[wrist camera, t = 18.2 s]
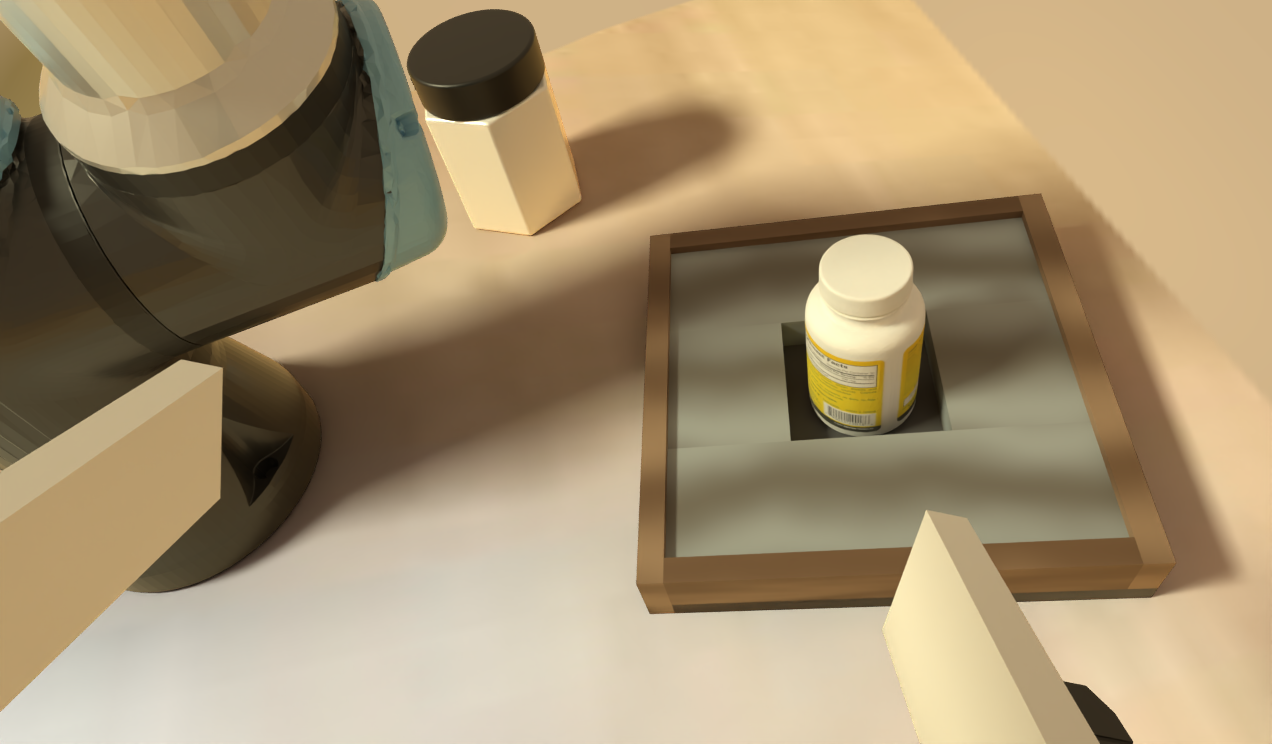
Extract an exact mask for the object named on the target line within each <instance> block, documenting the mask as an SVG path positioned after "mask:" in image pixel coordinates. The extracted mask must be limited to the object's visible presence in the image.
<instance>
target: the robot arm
mask: <svg viewBox="0 0 1272 744" xmlns="http://www.w3.org/2000/svg"><path fill="white" fill-rule="evenodd" d="M0 20H1V21H2V22H3V23H4V25H5V26H6V27H8V29H9V30H10V31H11V32H12V33H13V34H14V35H15V36H16V37H17V38H18V39H19V40H20V41H21V42H22V43H23V44H24V45H25V46H26V47H27V48H28V49H29V50H30V51H31V53H32V54H33V55H34V56H35V57H36V58H37V59H38V60H39V61H40V62H41V63H42V64H43V68H42V72H41V77H40V85H39V103H40V108H41V112H42V114H40V115H37V116H34V117H30V118H22V117H21V115H20V114H19V109H18V108H17V107H16V105H15V104H14V102H12V101H11V100H10V99H7V98H4V97H2V96H0V470H2V471H1V472H0V712H1V711H2V710H3V709H4V708H5V707H6V706H7V705H8V704H9V703H10V702H11V701H12V700H13V699H14V698H15V697H16V696H17V695H18V694H19V693H20V692H21V691H22V690H23V689H24V688H25V687H26V686H27V685H28V684H29V683H31V682H32V681H33V680H34V679H35V678H36V677H37V676H38V675H39V674H40V673H41V672H42V671H43V670H44V669H45V668H46V667H47V666H48V665H49V664H50V663H51V662H52V661H53V660H54V659H55V658H56V657H57V656H58V655H59V654H60V653H61V652H62V651H63V650H64V649H66V648H67V647H68V646H69V645H70V644H71V643H72V642H73V641H74V640H75V639H76V638H77V637H78V636H79V635H80V634H81V633H82V632H83V631H84V630H85V629H86V628H87V627H88V626H89V625H90V624H91V623H92V622H93V621H94V620H95V619H96V618H97V617H98V616H100V615H101V614H102V613H103V612H104V611H105V610H106V609H107V608H108V607H109V606H110V605H111V604H112V603H113V602H114V601H115V600H116V599H117V598H118V597H119V596H120V595H121V594H122V593H123V592H124V591H125V590H127V591H133V592H163V591H169V590H174V589H178V588H182V587H186V586H189V585H192V584H195V583H198V582H200V581H203V580H205V579H207V578H210V577H212V576H214V575H216V574H218V573H220V572H222V571H224V570H225V569H227V568H229V567H231V566H232V565H234V564H235V563H237V562H238V561H240V560H241V559H243V558H244V557H245V556H247V555H248V554H250V553H251V552H252V551H253V550H255V549H256V548H257V547H258V546H259V545H261V544H262V543H263V542H264V541H265V540H266V539H267V538H268V537H269V536H270V535H271V534H272V533H273V532H274V531H275V530H276V529H277V528H278V527H279V526H280V525H281V524H282V523H283V521H284V520H285V519H286V518H287V517H288V515H289V514H290V513H291V511H292V510H293V509H294V507H295V506H296V504H297V503H298V501H299V500H300V498H301V496H302V495H303V493H304V491H305V490H306V488H307V486H308V484H309V482H310V479H311V477H312V475H313V472H314V469H315V466H316V463H317V460H318V456H319V451H320V443H321V425H320V419H319V415H318V412H317V409H316V407H315V404H314V403H313V401H312V399H311V398H310V396H309V395H308V393H307V392H306V391H305V390H304V389H303V388H302V386H301V385H300V384H299V383H298V382H297V380H296V379H295V378H294V377H293V376H292V375H291V373H290V372H288V371H287V370H286V369H285V368H284V367H283V366H281V365H280V364H279V363H277V362H276V361H274V360H272V359H271V358H269V357H267V356H265V355H263V354H261V353H259V352H257V351H255V350H253V349H251V348H249V347H247V346H246V345H244V344H242V343H240V342H238V341H236V340H234V339H232V338H230V337H228V336H231V335H233V334H236V333H239V332H241V331H244V330H247V329H249V328H252V327H255V326H257V325H260V324H262V323H265V322H268V321H270V320H273V319H276V318H278V317H281V316H284V315H286V314H289V313H292V312H294V311H297V310H300V309H302V308H305V307H307V306H310V305H313V304H315V303H318V302H321V301H323V300H326V299H329V298H331V297H334V296H337V295H339V294H342V293H345V292H347V291H350V290H353V289H355V288H358V287H360V286H363V285H366V284H368V283H371V282H374V281H376V282H378V281H381V280H383V279H385V278H386V277H387V276H388V275H389V274H390V272H392V271H394V270H396V269H398V268H400V267H403V266H405V265H407V264H409V263H411V262H413V261H415V260H417V259H420V258H422V257H424V256H426V255H428V254H430V253H431V252H433V251H434V250H435V249H436V248H437V247H438V246H439V245H440V244H441V243H442V241H443V239H444V237H445V234H446V231H447V212H446V207H445V203H444V199H443V195H442V191H441V187H440V183H439V180H438V177H437V173H436V170H435V167H434V163H433V160H432V157H431V153H430V150H429V147H428V144H427V141H426V138H425V135H424V132H423V130H422V127H421V125H420V124H419V121H418V114H417V112H416V109H415V106H414V103H413V100H412V95H411V91H410V88H409V85H408V82H407V79H406V77H405V74H404V71H403V68H402V65H401V62H400V59H399V57H398V54H397V51H396V49H395V46H394V43H393V40H392V38H391V35H390V32H389V30H388V27H387V25H386V22H385V20H384V17H383V16H382V13H381V11H380V9H379V7H378V6H377V4H376V3H375V2H374V1H372V0H337V1H335V0H0ZM882 631H883V634H884V637H885V640H886V643H887V646H888V649H889V652H890V655H891V658H892V661H893V664H894V667H895V670H896V673H897V676H898V679H899V682H900V685H901V688H902V691H903V694H904V697H905V701H906V704H907V707H908V710H909V713H910V716H911V719H912V722H913V725H914V728H915V731H916V734H917V737H918V740H919V743H920V744H1133V741H1132V739H1131V738H1130V736H1129V735H1128V733H1127V731H1126V730H1125V728H1124V727H1123V725H1122V724H1121V722H1120V720H1119V719H1118V717H1117V716H1116V714H1115V713H1114V712H1113V711H1112V710H1111V709H1110V708H1109V707H1108V706H1107V705H1106V704H1105V703H1104V702H1102V701H1101V700H1100V699H1099V698H1098V697H1097V696H1096V695H1095V694H1094V693H1093V692H1092V691H1091V690H1090V689H1089V688H1088V687H1087V686H1084V685H1079V684H1074V683H1069V682H1064V681H1063V680H1062V679H1061V677H1060V675H1059V674H1058V672H1057V670H1056V669H1055V667H1054V665H1053V663H1052V662H1051V660H1050V658H1049V657H1048V655H1047V653H1046V652H1045V650H1044V648H1043V646H1042V645H1041V643H1040V641H1039V640H1038V638H1037V636H1036V635H1035V633H1034V631H1033V629H1032V628H1031V626H1030V624H1029V623H1028V621H1027V619H1026V618H1025V616H1024V614H1023V613H1022V611H1021V609H1020V607H1019V606H1018V604H1017V602H1016V601H1015V599H1014V597H1013V596H1012V594H1011V592H1010V590H1009V589H1008V587H1007V585H1006V584H1005V582H1004V580H1003V579H1002V577H1001V575H1000V574H999V572H998V570H997V568H996V567H995V565H994V563H993V562H992V560H991V558H990V557H989V555H988V553H987V551H986V550H985V548H984V546H983V545H982V543H981V541H980V540H979V538H978V536H977V534H976V533H975V531H974V529H973V528H972V526H971V524H970V523H969V521H968V519H967V518H964V517H959V516H955V515H950V514H945V513H940V512H935V511H930V510H926V512H925V515H924V518H923V520H922V523H921V526H920V528H919V531H918V534H917V537H916V539H915V542H914V545H913V547H912V550H911V553H910V556H909V558H908V561H907V564H906V566H905V569H904V572H903V575H902V577H901V580H900V583H899V586H898V588H897V591H896V594H895V596H894V599H893V602H892V605H891V607H890V610H889V613H888V615H887V618H886V621H885V624H884V626H883V629H882Z"/></svg>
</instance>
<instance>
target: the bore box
mask: <svg viewBox="0 0 1272 744" xmlns="http://www.w3.org/2000/svg"><path fill="white" fill-rule="evenodd" d="M865 234H867V235H879V236H883V237H887V238H890V239H892V240H894V241H896V242H898V243H899V244H901V245H902V246H903V247H904V248H905V249H906V250H907V251H908V253H909V254H910V256H911V258H912V261H913V283H914V284H915V286H916V287H917V288H918V290H919V291H920V293H921V295H922V297H923V300H924V303H925V327H924V335H923V343H922V352H921V360H920V369H919V378H918V387H917V395H916V400H915V404H914V407H913V410H912V412H911V413H910V415H909V416H908V418H907V419H906V420H905V421H904V422H903V423H902V424H901V425H899V426H898V427H896V428H895V429H893V430H891V431H889V432H887V433H884V434H881V435H875V436H859V437H856V436H851V435H847V434H843V433H840V432H838V431H836V430H834V429H832V428H831V427H829V426H828V425H826V424H825V423H824V422H823V421H822V420H821V419H820V418H819V417H818V415H817V414H816V412H815V411H814V409H813V407H812V404H811V401H810V395H809V385H808V368H807V349H806V330H805V308H806V303H807V299H808V297H809V295H810V293H811V291H812V289H813V288H814V287H815V285H816V284H817V283H818V282H819V264H820V261H821V258H822V256H823V255H824V253H825V252H826V251H827V250H828V249H829V248H830V247H831V246H832V245H833V244H835V243H836V242H838V241H840V240H842V239H845V238H848V237H851V236H856V235H865ZM926 510H930V511H935V512H940V513H945V514H950V515H955V516H959V517H964V518H967V519H968V521H969V523H970V524H971V526H972V528H973V529H974V531H975V533H976V534H977V536H978V538H979V540H980V541H981V543H982V545H983V546H984V548H985V550H986V551H987V553H988V555H989V557H990V558H991V560H992V562H993V563H994V565H995V567H996V568H997V570H998V572H999V574H1000V575H1001V577H1002V579H1003V580H1004V582H1005V584H1006V585H1007V587H1008V589H1009V590H1010V592H1011V594H1012V596H1013V597H1014V599H1015V601H1016V602H1025V601H1056V600H1086V599H1117V598H1147V597H1152V596H1153V594H1154V593H1155V591H1156V590H1157V589H1158V587H1159V586H1160V585H1161V583H1162V582H1163V581H1164V579H1165V578H1166V576H1167V575H1168V574H1169V572H1170V571H1171V570H1172V568H1173V567H1174V565H1175V564H1176V561H1175V558H1174V556H1173V553H1172V550H1171V547H1170V545H1169V542H1168V539H1167V536H1166V534H1165V531H1164V528H1163V526H1162V523H1161V520H1160V517H1159V515H1158V512H1157V509H1156V506H1155V504H1154V501H1153V498H1152V495H1151V493H1150V490H1149V487H1148V485H1147V482H1146V479H1145V476H1144V474H1143V471H1142V468H1141V465H1140V463H1139V460H1138V457H1137V454H1136V452H1135V449H1134V446H1133V444H1132V441H1131V438H1130V435H1129V433H1128V430H1127V427H1126V424H1125V422H1124V419H1123V416H1122V413H1121V411H1120V408H1119V405H1118V403H1117V400H1116V397H1115V394H1114V392H1113V389H1112V386H1111V383H1110V381H1109V378H1108V375H1107V372H1106V370H1105V367H1104V364H1103V362H1102V359H1101V356H1100V353H1099V351H1098V348H1097V345H1096V342H1095V340H1094V337H1093V334H1092V331H1091V329H1090V326H1089V323H1088V321H1087V318H1086V315H1085V312H1084V310H1083V307H1082V304H1081V301H1080V299H1079V296H1078V293H1077V290H1076V288H1075V285H1074V282H1073V280H1072V277H1071V274H1070V271H1069V269H1068V266H1067V263H1066V260H1065V258H1064V255H1063V252H1062V249H1061V247H1060V244H1059V241H1058V239H1057V236H1056V233H1055V230H1054V228H1053V225H1052V222H1051V219H1050V217H1049V214H1048V211H1047V208H1046V206H1045V203H1044V200H1043V197H1042V195H1041V194H1032V195H1023V196H1014V197H1004V198H995V199H986V200H977V201H968V202H958V203H949V204H940V205H931V206H922V207H912V208H903V209H894V210H885V211H876V212H866V213H857V214H848V215H839V216H830V217H820V218H811V219H802V220H793V221H783V222H774V223H765V224H756V225H747V226H737V227H728V228H719V229H710V230H701V231H691V232H682V233H673V234H664V235H655V236H650V259H649V284H648V308H647V333H646V358H645V383H644V407H643V432H642V457H641V481H640V506H639V531H638V556H637V580H636V584H637V587H638V589H639V591H640V593H641V595H642V598H643V600H644V602H645V604H646V607H647V609H648V611H649V613H650V614H660V613H691V612H721V611H751V610H782V609H812V608H843V607H873V606H891V605H892V602H893V599H894V596H895V594H896V591H897V588H898V586H899V583H900V580H901V577H902V575H903V572H904V569H905V566H906V564H907V561H908V558H909V556H910V553H911V550H912V547H913V545H914V542H915V539H916V537H917V534H918V531H919V528H920V526H921V523H922V520H923V518H924V515H925V512H926Z"/></svg>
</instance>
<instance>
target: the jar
mask: <svg viewBox="0 0 1272 744" xmlns="http://www.w3.org/2000/svg"><path fill="white" fill-rule="evenodd" d="M407 70H408V73H409V75H410V77H411V81H412V83H413V85H414V87H415V90H416V91H417V93H418V95H419V97H420V100H421V102H422V104H423V106H424V108H425V121H426V123H427V125H428V127H429V130H430V132H431V134H432V136H433V138H434V141H435V143H436V145H437V147H438V149H439V152H440V154H441V156H442V158H443V161H444V163H445V165H446V167H447V169H448V172H449V174H450V176H451V178H452V180H453V183H454V185H455V187H456V189H457V191H458V194H459V196H460V198H461V200H462V202H463V205H464V207H465V209H466V211H467V213H468V216H469V218H470V220H471V222H472V224H473V226H474V228H476V229H483V230H491V231H499V232H506V233H514V234H522V235H533V234H534V233H536V232H537V231H539V230H540V229H541V228H543V227H544V226H546V225H547V224H549V223H550V222H551V221H553V220H554V219H556V218H557V217H559V216H560V215H561V214H563V213H564V212H566V211H567V210H569V209H570V208H571V207H573V206H574V205H576V204H577V203H579V202H580V201H581V198H582V197H581V192H580V187H579V182H578V178H577V173H576V168H575V163H574V159H573V155H572V152H571V149H570V146H569V142H568V139H567V136H566V132H565V129H564V126H563V122H562V119H561V116H560V113H559V109H558V106H557V103H556V99H555V96H554V93H553V89H552V86H551V83H550V80H549V76H548V73H547V70H546V66H545V63H544V60H543V56H542V53H541V50H540V46H539V43H538V40H537V36H536V33H535V30H534V27H533V25H532V24H531V22H530V21H529V20H528V19H527V18H526V17H524V16H523V15H521V14H519V13H516V12H513V11H508V10H499V9H490V10H480V11H475V12H470V13H466V14H463V15H460V16H457V17H454V18H452V19H449V20H447V21H445V22H443V23H441V24H439V25H438V26H436V27H434V28H433V29H431V30H430V31H429V32H427V33H426V34H425V35H424V36H423V37H421V38H420V39H419V40H418V41H417V43H416V44H415V45H414V46H413V48H412V50H411V51H410V53H409V56H408V60H407Z"/></svg>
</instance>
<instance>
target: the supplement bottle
mask: <svg viewBox="0 0 1272 744" xmlns="http://www.w3.org/2000/svg"><path fill="white" fill-rule="evenodd" d="M924 327H925V303H924V300H923V297H922V295H921V293H920V291H919V290H918V288H917V287H916V286H915V284H914V283H913V261H912V258H911V256H910V254H909V253H908V251H907V250H906V249H905V248H904V247H903V246H902V245H901V244H899V243H898V242H896V241H894V240H892V239H890V238H887V237H883V236H879V235H867V234H865V235H856V236H851V237H848V238H845V239H842V240H840V241H838V242H836V243H835V244H833V245H832V246H831V247H830V248H829V249H828V250H827V251H826V252H825V253H824V255H823V256H822V258H821V261H820V264H819V282H818V283H817V284H816V285H815V287H814V288H813V289H812V291H811V293H810V295H809V297H808V299H807V303H806V308H805V330H806V349H807V368H808V385H809V395H810V401H811V404H812V407H813V409H814V411H815V412H816V414H817V415H818V417H819V418H820V419H821V420H822V421H823V422H824V423H825V424H826V425H828V426H829V427H831V428H832V429H834V430H836V431H838V432H840V433H843V434H847V435H851V436H856V437H859V436H875V435H881V434H884V433H887V432H889V431H891V430H893V429H895V428H896V427H898V426H899V425H901V424H902V423H903V422H904V421H905V420H906V419H907V418H908V416H909V415H910V413H911V412H912V410H913V407H914V404H915V400H916V395H917V387H918V378H919V369H920V360H921V352H922V343H923V335H924Z"/></svg>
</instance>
